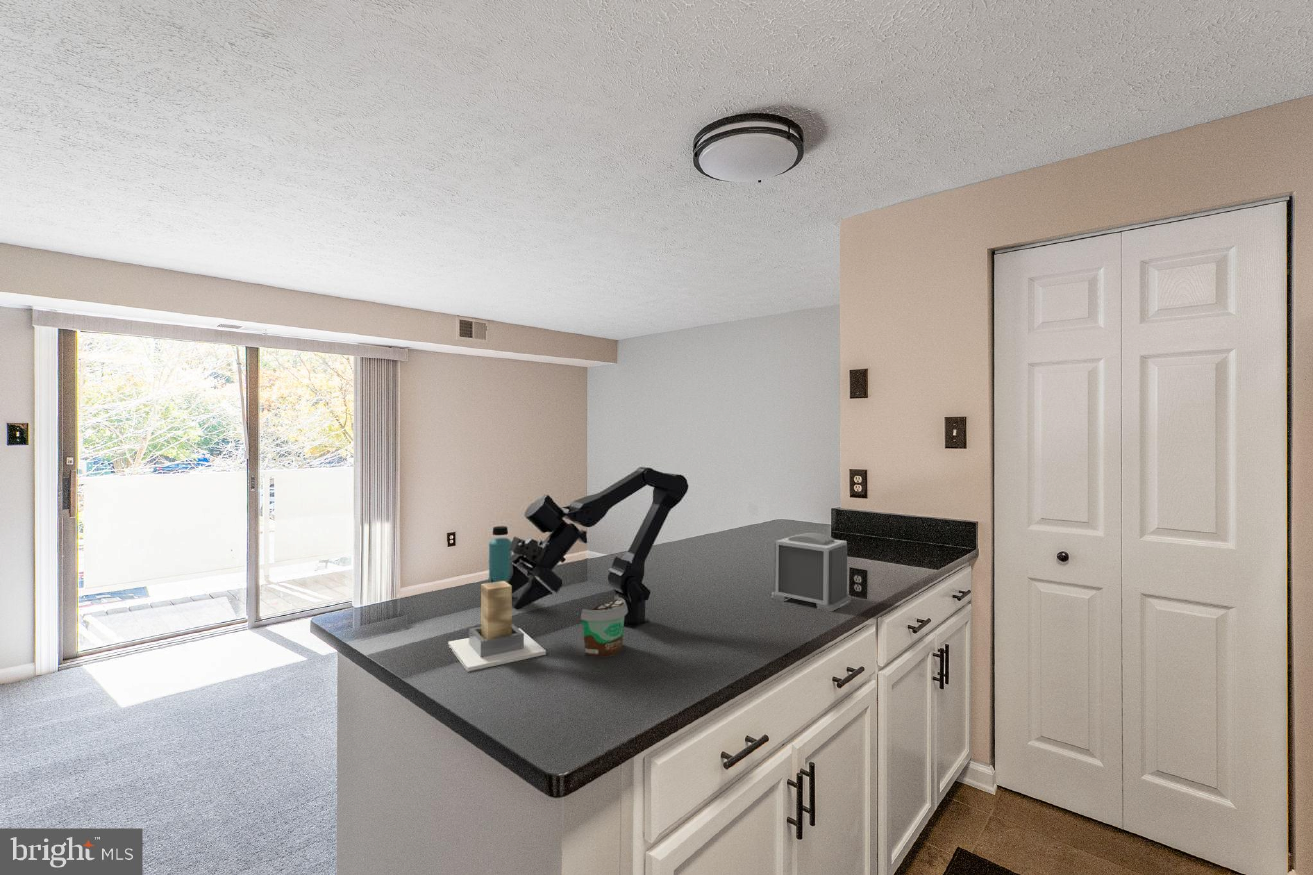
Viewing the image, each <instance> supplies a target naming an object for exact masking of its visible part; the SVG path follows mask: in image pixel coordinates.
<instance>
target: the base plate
mask: <svg viewBox="0 0 1313 875" xmlns="http://www.w3.org/2000/svg"><path fill="white" fill-rule="evenodd" d="M518 629H519V630H520V631H521V632H523V633H524V649H520V650H515V651H510V652H505V653H501V654H496V655H491V656H486V657H481V658H480V656H479V655H478V654H477V653H476V652H475V650H474V649H473V648H472V647H471V646H470V644H469V637H466V638H461V639H456V640H455V639H454V640H449V641H447V646H448V645H449V646H448V647H449V649H450V648H451V649H452V650H451V649H450V650H451V651H452V653H453V654H454V655H455V657H456V658H457V660H458V661H459V662H460V663H461V665H462V667H463V668H464V669H465V671H466V672H467V673H468V672H472V671H478V670H482V669H486V668H489V667H490V668H491V667H495V666H499V665H504V664H508V663H513V662H518V661H523V660H527V659H531V658H535V657H540V656H546V654H547V652H546V649H544V648H543V647H542V646H541V645H540V644H538V643H537V642H536V641H535V640H534V639H532V637H530V636H529V635H528V634H527V633H526V632H525V631H523V630H522V628H519V627H518Z"/></svg>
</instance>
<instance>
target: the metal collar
mask: <svg viewBox="0 0 1313 875" xmlns="http://www.w3.org/2000/svg"><path fill="white" fill-rule="evenodd" d="M523 632H524V631H523ZM523 632H521V631H520V630H519V627H517V626H516V625H515V624H514V623H512V634H510V635H504V636H499V637H494V638H489V639H483V638H482V636H481V626H478V627H471V628H468V638H469V644H470V646H471V647H472V648H473V649H474V650H475V652H476V653H477V654H478V655H479V656H480V658H481V657H486V656H491V655H496V654H501V653H505V652H510V651H515V650H520V649H524V633H523Z"/></svg>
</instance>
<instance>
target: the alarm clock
mask: <svg viewBox="0 0 1313 875" xmlns="http://www.w3.org/2000/svg"><path fill="white" fill-rule="evenodd" d="M847 543H848V541H847V540H842V539H841V540H840V539H835V538H834V537H831V536H829V535H826V534H823V533H820V532H804V533H799V534H795V535H793V536H788V537H785V538H782V539H778V540H775V542H774V591H772V592H771V599H772V598H774V599H781V600H785V599H788V598H792V599H795V600H800V601H806V602H809V603H810V602H811V603H815V604H816V606H820V607H824V608H837V607H838V606H840V605H841V604H844V603H846V602H847V601H850V600H851V601H852V596H851V595H850V594H848V545H847Z"/></svg>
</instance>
